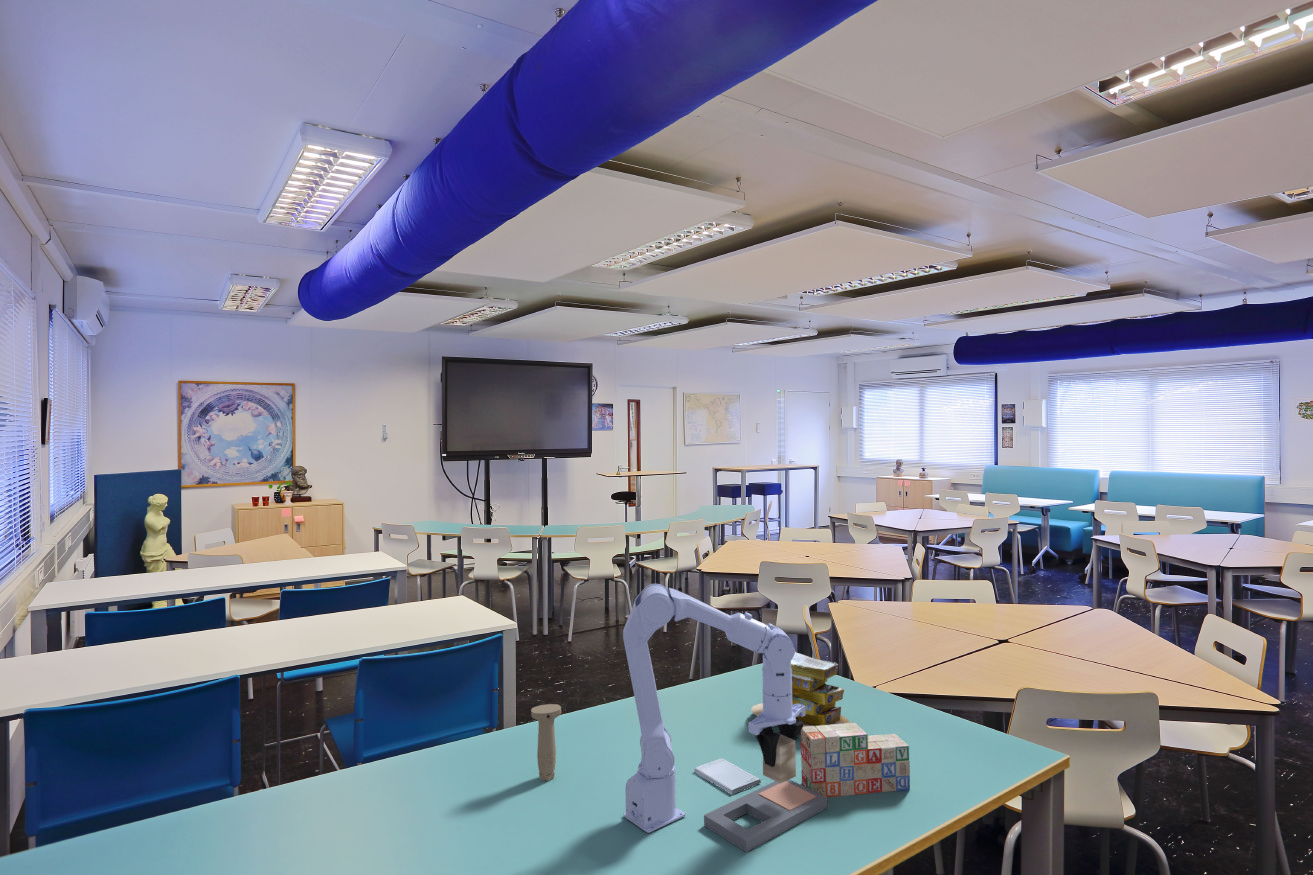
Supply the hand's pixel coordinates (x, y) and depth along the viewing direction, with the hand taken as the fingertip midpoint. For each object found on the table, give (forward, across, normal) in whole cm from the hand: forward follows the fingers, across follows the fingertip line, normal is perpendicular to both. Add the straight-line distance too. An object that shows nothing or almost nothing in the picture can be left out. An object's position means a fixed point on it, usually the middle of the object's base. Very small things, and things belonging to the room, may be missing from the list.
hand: (778, 760), depth 134 cm
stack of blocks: (+10, +19, -4) cm, 22 cm away
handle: (+10, -29, +41) cm, 51 cm away
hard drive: (+10, +1, +16) cm, 19 cm away
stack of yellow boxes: (+10, +36, +25) cm, 45 cm away
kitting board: (+10, -3, 0) cm, 10 cm away
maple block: (+3, 0, 0) cm, 3 cm away
